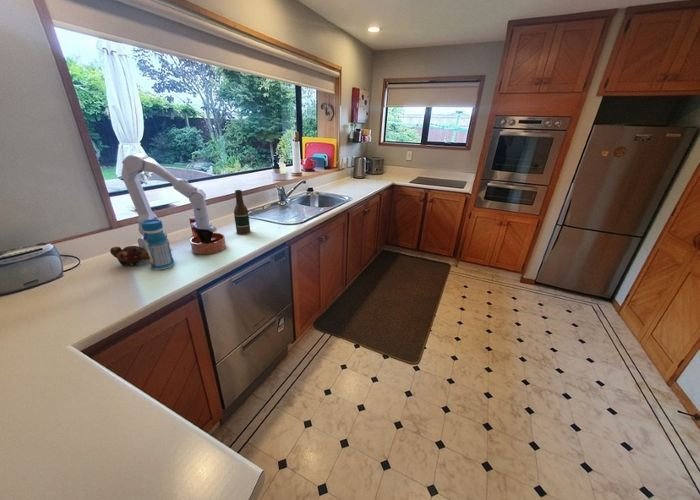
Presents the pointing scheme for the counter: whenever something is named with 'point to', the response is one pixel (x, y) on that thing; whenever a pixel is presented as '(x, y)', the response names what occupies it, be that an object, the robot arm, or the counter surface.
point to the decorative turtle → (130, 254)
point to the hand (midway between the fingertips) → (206, 243)
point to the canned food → (192, 220)
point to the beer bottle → (241, 215)
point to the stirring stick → (211, 241)
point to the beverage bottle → (157, 244)
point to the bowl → (209, 247)
